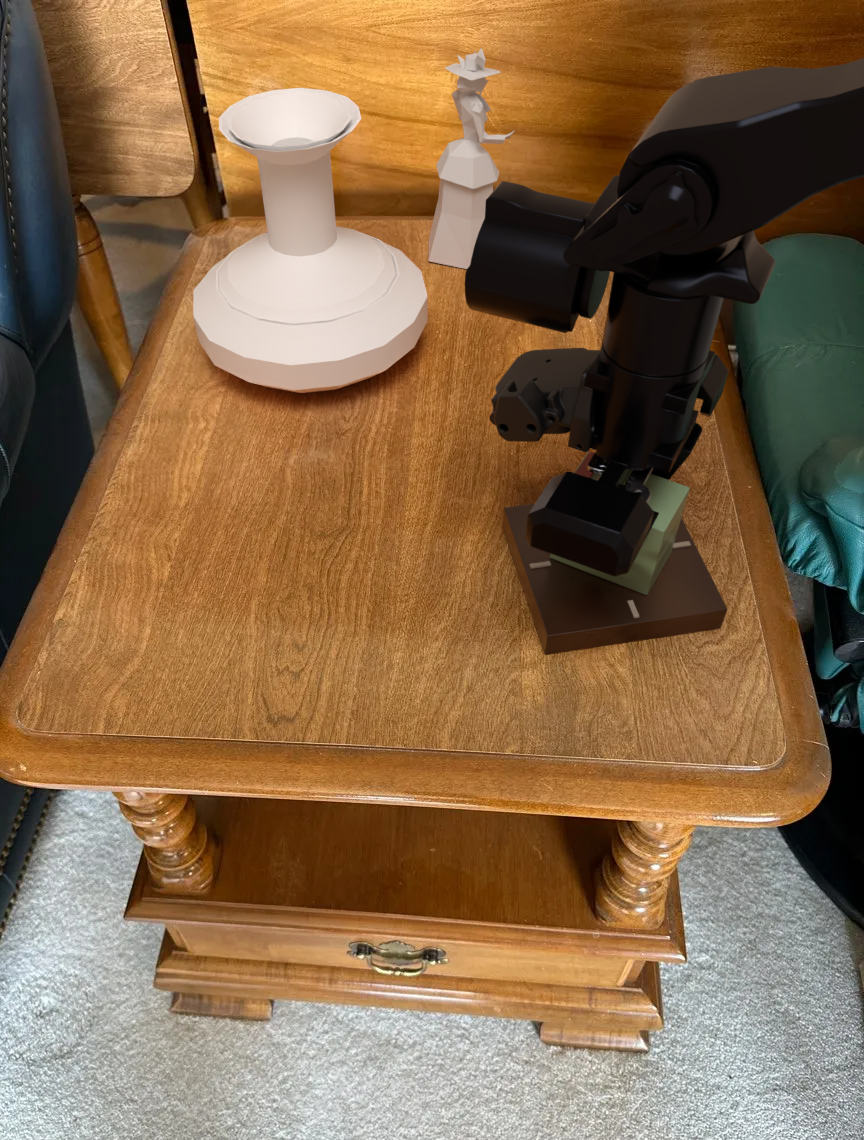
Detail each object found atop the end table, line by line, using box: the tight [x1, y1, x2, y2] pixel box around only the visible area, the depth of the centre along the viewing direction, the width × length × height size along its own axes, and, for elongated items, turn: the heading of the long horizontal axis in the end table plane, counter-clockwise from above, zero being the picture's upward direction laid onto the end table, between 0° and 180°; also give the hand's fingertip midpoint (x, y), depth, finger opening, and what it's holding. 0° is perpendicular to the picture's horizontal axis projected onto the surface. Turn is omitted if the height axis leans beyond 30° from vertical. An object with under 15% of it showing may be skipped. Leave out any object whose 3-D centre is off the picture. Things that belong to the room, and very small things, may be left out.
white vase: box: [192, 87, 429, 394], centre depth 77 cm, size 20×20×19 cm
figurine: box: [427, 47, 516, 270], centre depth 86 cm, size 7×8×18 cm
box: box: [550, 450, 691, 595], centre depth 63 cm, size 7×4×6 cm, turn 59°
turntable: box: [501, 502, 728, 656], centre depth 66 cm, size 12×12×2 cm
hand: (611, 544), depth 64 cm, fingers closed on box, 4 cm apart
